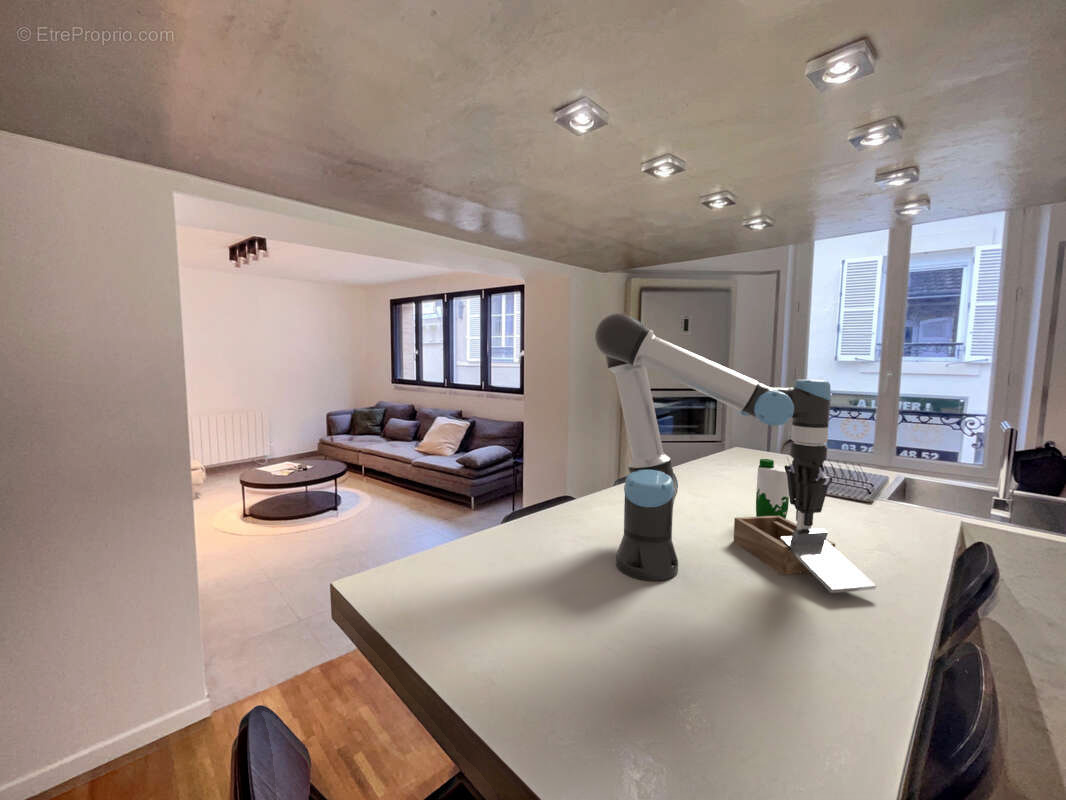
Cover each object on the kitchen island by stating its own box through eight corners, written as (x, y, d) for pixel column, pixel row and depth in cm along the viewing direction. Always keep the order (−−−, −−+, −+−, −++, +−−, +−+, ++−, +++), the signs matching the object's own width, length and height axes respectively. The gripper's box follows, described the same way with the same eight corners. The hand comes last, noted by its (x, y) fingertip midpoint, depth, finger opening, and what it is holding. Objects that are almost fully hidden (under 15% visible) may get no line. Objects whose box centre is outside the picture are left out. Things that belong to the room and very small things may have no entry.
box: (781, 574, 108) (783, 547, 107) (733, 541, 128) (734, 517, 127) (833, 571, 110) (835, 543, 109) (777, 538, 130) (779, 515, 129)
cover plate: (831, 593, 96) (837, 577, 94) (779, 540, 111) (784, 525, 109) (875, 589, 97) (881, 573, 95) (818, 537, 113) (823, 523, 111)
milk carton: (758, 515, 149) (761, 456, 147) (789, 521, 144) (792, 460, 142) (752, 523, 142) (755, 461, 140) (784, 529, 137) (788, 465, 135)
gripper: (845, 447, 102) (838, 546, 105) (802, 437, 115) (797, 526, 117) (816, 448, 101) (809, 548, 103) (776, 438, 114) (771, 527, 116)
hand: (803, 536), depth 110 cm, fingers closed
